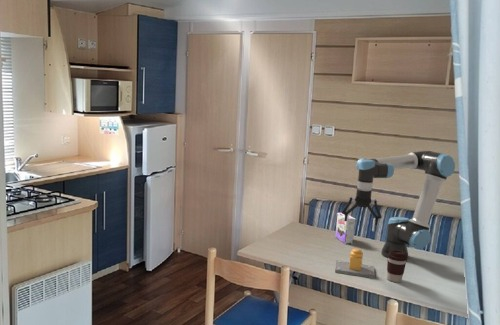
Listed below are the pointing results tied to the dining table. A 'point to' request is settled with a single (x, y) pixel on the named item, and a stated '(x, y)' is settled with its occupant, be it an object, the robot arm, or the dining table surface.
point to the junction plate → (344, 268)
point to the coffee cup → (396, 265)
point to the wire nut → (355, 259)
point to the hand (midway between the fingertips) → (359, 229)
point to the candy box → (345, 229)
